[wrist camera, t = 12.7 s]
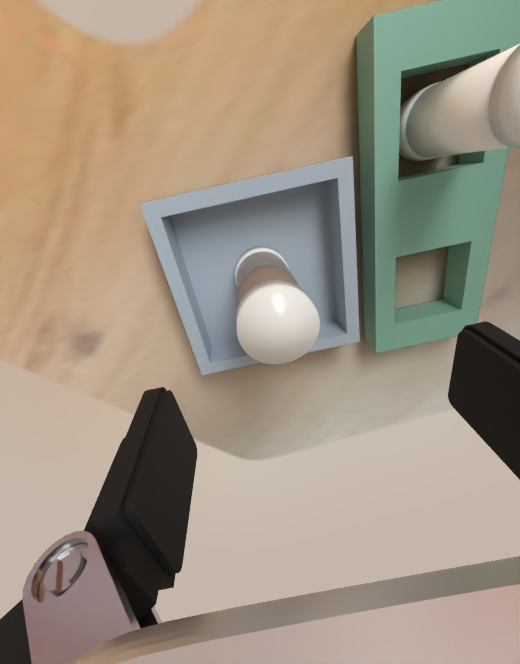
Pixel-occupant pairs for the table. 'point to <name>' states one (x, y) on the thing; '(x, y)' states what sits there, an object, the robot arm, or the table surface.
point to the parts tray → (259, 230)
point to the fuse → (465, 111)
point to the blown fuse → (272, 308)
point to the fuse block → (430, 186)
